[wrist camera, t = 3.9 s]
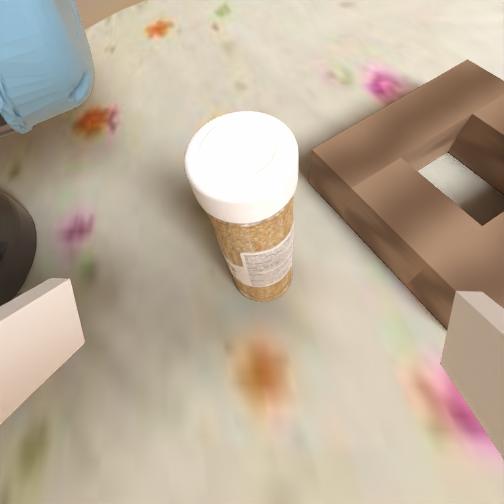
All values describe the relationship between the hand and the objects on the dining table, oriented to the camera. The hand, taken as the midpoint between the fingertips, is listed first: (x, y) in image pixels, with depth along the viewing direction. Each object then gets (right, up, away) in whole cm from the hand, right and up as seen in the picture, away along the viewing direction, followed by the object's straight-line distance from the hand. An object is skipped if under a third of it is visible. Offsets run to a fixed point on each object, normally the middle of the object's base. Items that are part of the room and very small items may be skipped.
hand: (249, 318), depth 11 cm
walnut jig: (+16, +7, +14) cm, 22 cm away
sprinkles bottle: (+1, 0, +13) cm, 13 cm away
